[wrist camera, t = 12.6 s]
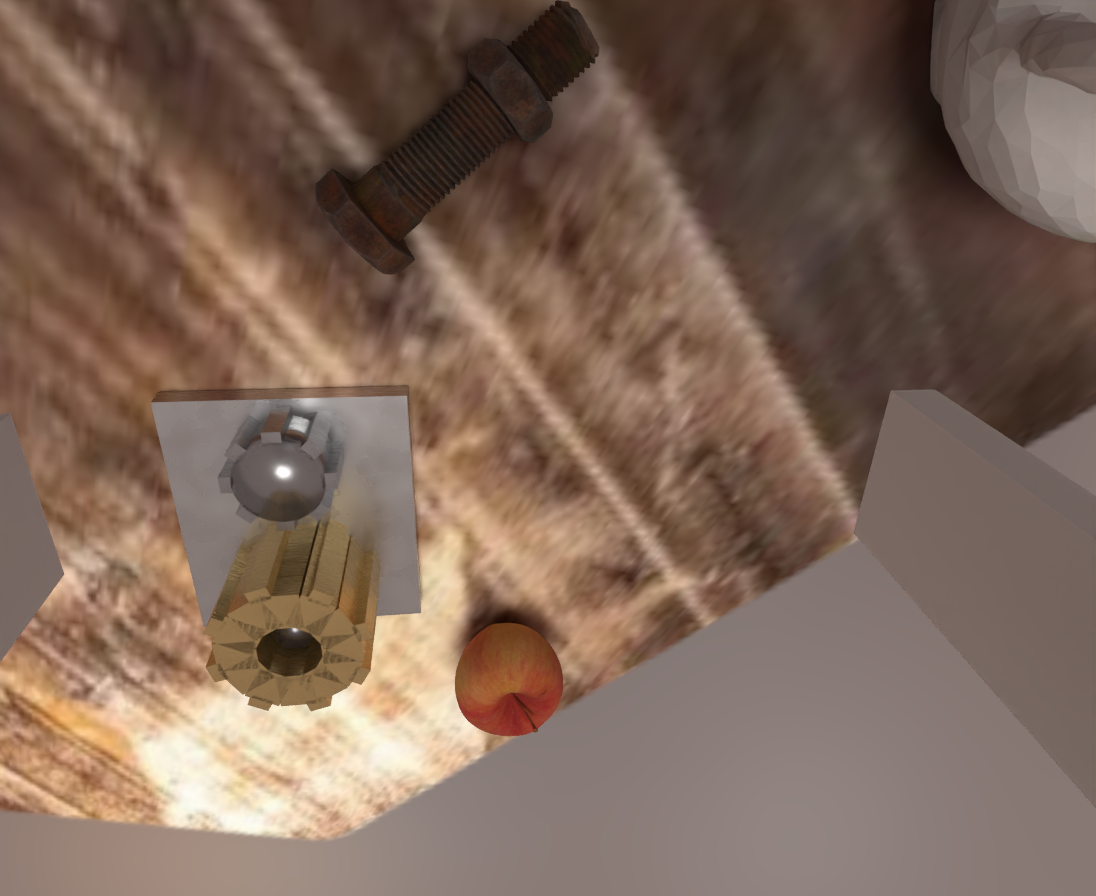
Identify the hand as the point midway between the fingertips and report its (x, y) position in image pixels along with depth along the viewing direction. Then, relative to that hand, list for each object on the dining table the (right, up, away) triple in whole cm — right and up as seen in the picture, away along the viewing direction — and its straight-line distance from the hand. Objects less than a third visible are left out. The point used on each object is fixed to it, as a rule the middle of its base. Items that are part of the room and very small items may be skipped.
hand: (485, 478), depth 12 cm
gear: (-14, -8, +36) cm, 40 cm away
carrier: (-15, -3, +35) cm, 38 cm away
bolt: (-3, +17, +27) cm, 32 cm away
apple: (-2, -13, +43) cm, 45 cm away
